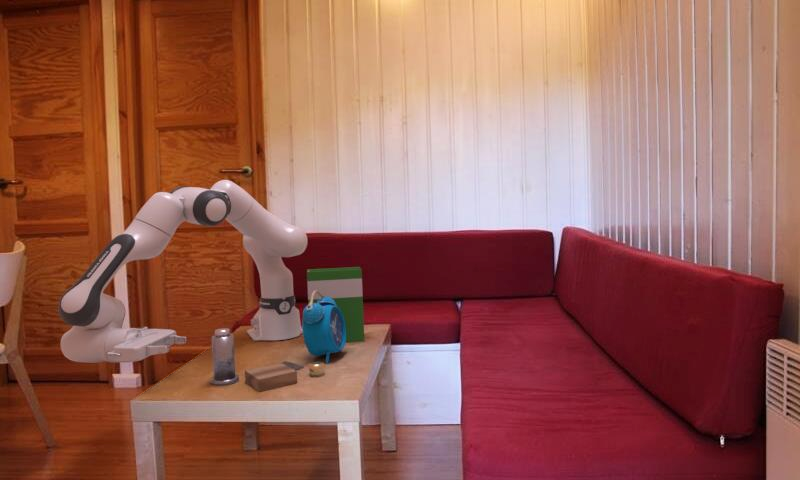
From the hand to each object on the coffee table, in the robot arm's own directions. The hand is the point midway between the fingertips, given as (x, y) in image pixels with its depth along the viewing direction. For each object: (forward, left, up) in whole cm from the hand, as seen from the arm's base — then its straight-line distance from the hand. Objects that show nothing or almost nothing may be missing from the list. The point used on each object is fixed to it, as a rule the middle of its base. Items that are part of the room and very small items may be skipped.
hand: (176, 344), depth 140 cm
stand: (+16, +19, -10) cm, 27 cm away
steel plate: (+7, +27, -11) cm, 30 cm away
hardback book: (-11, +53, -10) cm, 55 cm away
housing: (+7, +10, -10) cm, 16 cm away
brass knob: (+18, +31, -10) cm, 37 cm away
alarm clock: (+5, +41, -10) cm, 42 cm away
